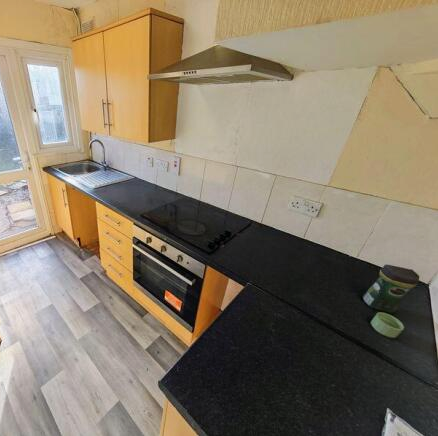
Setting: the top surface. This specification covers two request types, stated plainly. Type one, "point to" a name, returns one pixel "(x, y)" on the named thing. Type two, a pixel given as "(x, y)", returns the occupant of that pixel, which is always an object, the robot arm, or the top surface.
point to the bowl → (387, 325)
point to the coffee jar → (390, 288)
